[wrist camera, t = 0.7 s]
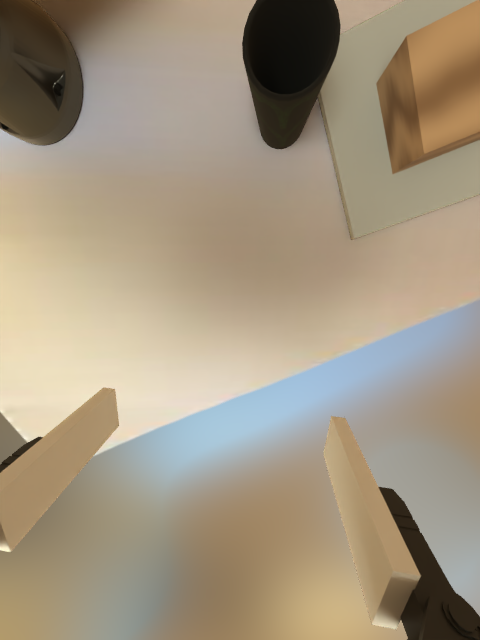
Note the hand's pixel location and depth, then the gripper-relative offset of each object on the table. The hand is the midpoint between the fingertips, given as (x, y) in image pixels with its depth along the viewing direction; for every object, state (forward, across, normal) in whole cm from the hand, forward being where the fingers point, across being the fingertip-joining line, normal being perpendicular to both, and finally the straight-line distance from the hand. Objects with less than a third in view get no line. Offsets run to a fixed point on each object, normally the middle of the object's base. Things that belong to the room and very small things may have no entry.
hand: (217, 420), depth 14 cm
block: (+23, +19, +27) cm, 41 cm away
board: (+24, +19, +27) cm, 41 cm away
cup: (+25, +2, +26) cm, 36 cm away
